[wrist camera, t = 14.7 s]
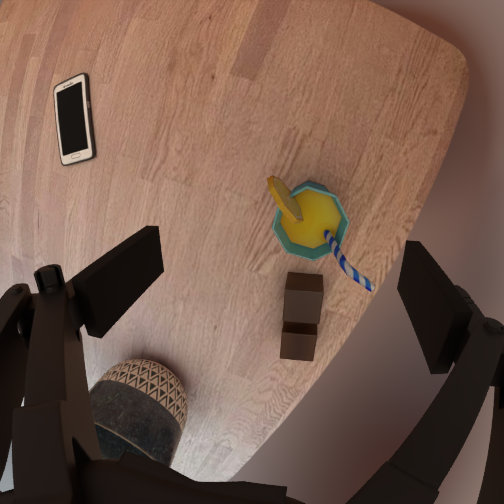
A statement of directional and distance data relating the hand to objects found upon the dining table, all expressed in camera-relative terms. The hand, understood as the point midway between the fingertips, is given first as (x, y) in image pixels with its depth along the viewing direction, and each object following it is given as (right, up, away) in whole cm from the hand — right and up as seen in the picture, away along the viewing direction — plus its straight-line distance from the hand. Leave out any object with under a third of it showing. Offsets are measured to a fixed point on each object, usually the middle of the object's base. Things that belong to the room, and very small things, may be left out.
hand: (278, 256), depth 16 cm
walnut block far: (+6, -12, +32) cm, 34 cm away
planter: (-21, -25, +43) cm, 54 cm away
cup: (+7, +6, +24) cm, 26 cm away
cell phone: (-30, +22, +25) cm, 45 cm away
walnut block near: (+6, -5, +29) cm, 30 cm away
